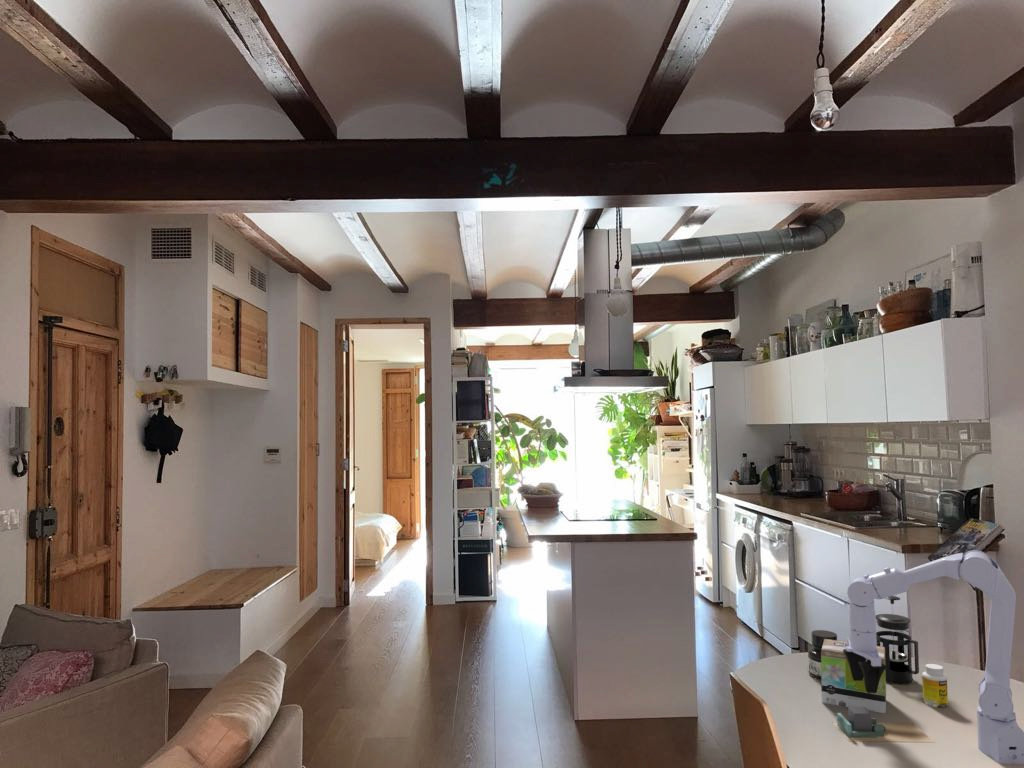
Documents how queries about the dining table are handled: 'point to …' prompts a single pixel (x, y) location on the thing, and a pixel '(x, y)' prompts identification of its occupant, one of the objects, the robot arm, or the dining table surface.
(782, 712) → the dining table surface
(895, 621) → the french press
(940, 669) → the supplement bottle
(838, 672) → the tea box
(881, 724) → the board
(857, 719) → the block
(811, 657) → the black pill bottle
